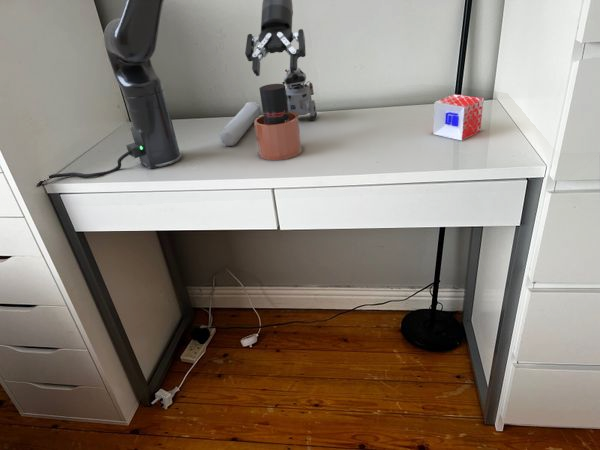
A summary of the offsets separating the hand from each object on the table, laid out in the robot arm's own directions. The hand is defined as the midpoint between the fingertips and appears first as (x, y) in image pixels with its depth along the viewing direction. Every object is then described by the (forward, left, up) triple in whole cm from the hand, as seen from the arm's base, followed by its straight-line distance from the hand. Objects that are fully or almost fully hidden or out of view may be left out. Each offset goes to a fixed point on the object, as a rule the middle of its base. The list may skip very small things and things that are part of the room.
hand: (274, 72), depth 105 cm
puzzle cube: (+29, -31, -18) cm, 46 cm away
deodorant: (-3, -3, -17) cm, 18 cm away
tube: (0, +19, -18) cm, 26 cm away
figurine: (+15, +11, -18) cm, 26 cm away
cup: (-4, -3, -18) cm, 19 cm away
